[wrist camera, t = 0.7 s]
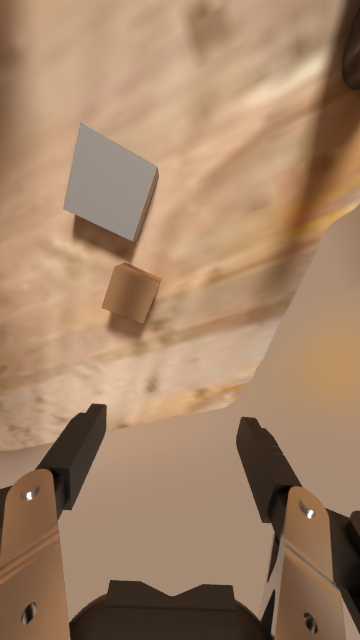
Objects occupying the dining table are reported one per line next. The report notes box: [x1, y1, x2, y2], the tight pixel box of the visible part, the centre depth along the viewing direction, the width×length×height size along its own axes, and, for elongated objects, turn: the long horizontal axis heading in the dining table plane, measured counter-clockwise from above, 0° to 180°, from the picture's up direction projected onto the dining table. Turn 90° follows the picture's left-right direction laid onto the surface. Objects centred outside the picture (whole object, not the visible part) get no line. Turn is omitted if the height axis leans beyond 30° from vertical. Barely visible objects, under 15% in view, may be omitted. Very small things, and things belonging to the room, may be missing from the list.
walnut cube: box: [102, 263, 161, 324], centre depth 27 cm, size 6×6×6 cm
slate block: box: [63, 123, 159, 242], centre depth 24 cm, size 9×9×4 cm
